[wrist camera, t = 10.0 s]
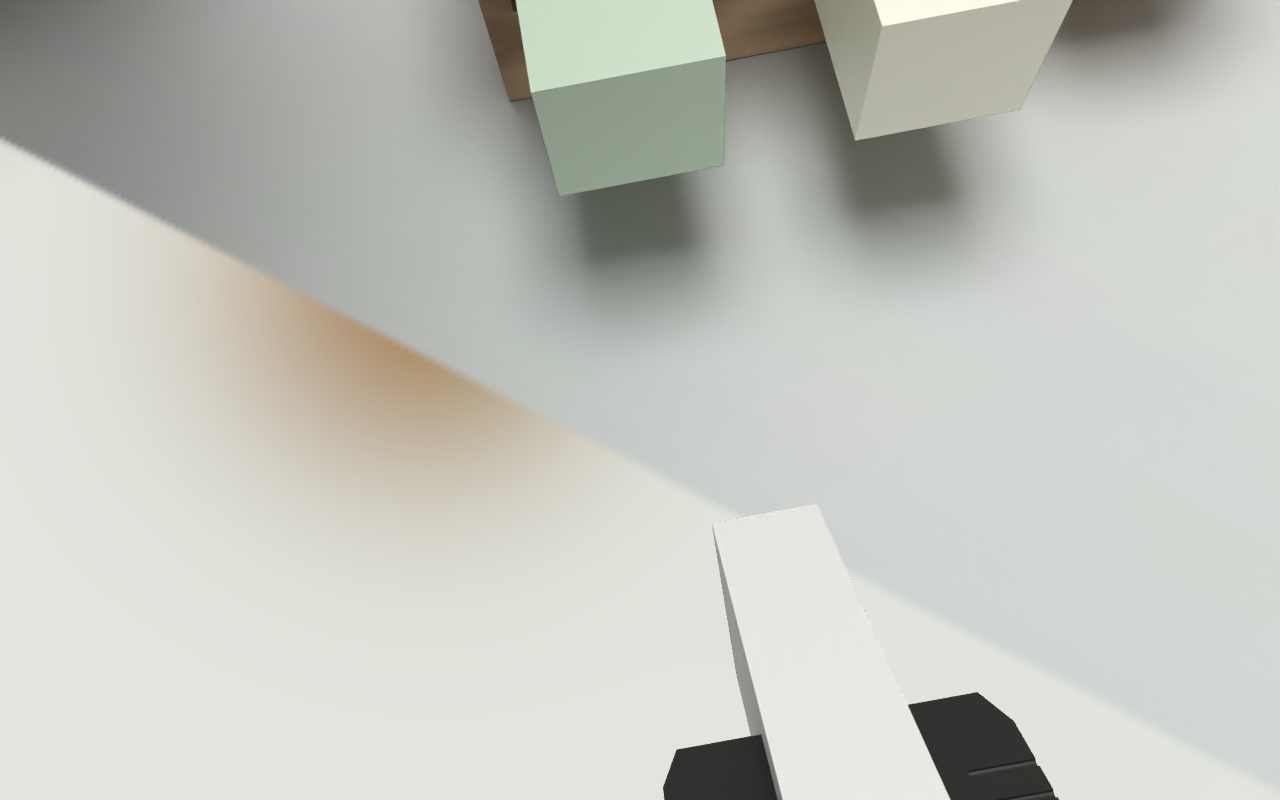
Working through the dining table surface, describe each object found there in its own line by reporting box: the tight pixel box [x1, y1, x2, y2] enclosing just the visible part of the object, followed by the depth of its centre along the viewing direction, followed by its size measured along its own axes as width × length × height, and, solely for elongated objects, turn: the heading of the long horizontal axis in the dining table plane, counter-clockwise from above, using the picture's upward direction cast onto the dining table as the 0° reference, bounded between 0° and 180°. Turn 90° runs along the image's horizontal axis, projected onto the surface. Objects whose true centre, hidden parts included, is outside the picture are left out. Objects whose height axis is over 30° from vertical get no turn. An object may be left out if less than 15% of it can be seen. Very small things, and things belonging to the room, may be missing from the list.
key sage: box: [516, 0, 726, 196], centre depth 29 cm, size 5×9×5 cm, turn 10°
